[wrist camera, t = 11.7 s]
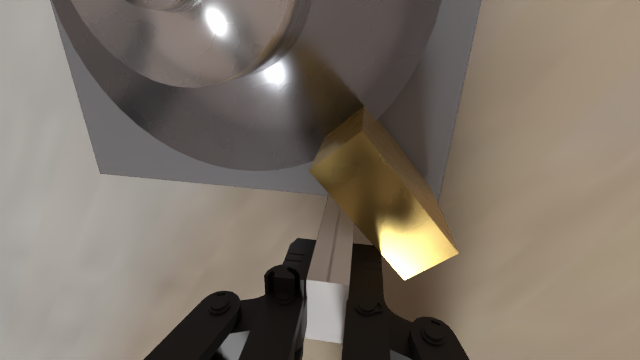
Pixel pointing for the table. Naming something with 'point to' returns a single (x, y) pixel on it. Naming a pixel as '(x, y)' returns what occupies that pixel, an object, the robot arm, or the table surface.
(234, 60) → the cover
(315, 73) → the turntable
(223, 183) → the turntable base
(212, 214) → the table surface
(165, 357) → the robot arm
